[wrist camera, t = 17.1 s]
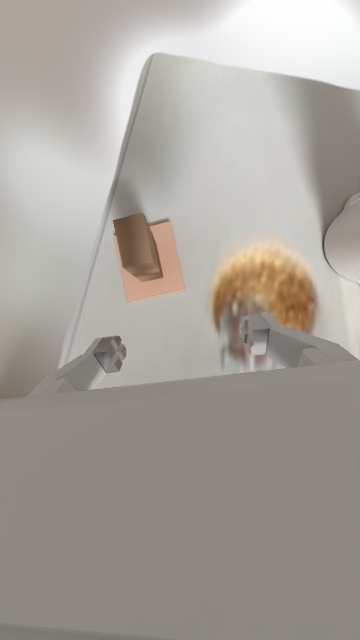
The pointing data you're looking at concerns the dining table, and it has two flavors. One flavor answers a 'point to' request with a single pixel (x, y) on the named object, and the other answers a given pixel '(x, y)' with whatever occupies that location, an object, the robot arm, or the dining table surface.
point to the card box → (138, 248)
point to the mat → (168, 263)
